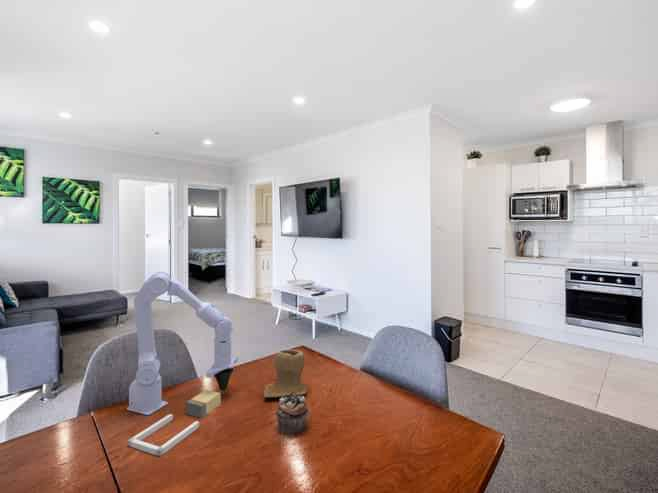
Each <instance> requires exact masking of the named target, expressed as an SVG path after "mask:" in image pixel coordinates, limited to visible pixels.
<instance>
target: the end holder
mask: <svg viewBox="0 0 658 493" xmlns="http://www.w3.org/2000/svg"><path fill="white" fill-rule="evenodd" d="M173 420H174V414H171V413H169V414H167V415H165V416H164V417H163V418H161V419H160V420H158V421H156V422H155V423H153V424H152V425H150V426H149V427H147V428H145V429H144V430H142V431H140V432H139V433H137V434H136V435H134V436H132V437H131V438H130V439H128V440H127V446H128V447H130V448H133V449H136V450H139V451H142V452H145V453H149V454H151V455H153V456H157V457H162V455H164V454H165V453H167V452H168V451H170V449H172V448H173V447H175V445H177V444H179V442H181V441H183V440H184V439H185V438H186V437H188V436H190V434H192V433H193V432H194V431H195V430H197V429H199V427H200V422H199V421H197V420H196V421H194V422H192V423H191V424H190V425H189V426H187V427H185V428H184V429H183V430H182V431H180V432H179V433H178V434H176V435H174V436H173V437H172V438H170V439H169V440H167V442H165V443H164V444H162V445H161V446H158V445H155V444H152V443H149V442H146V441H143V440H144V439H145V438H147V437H149V436H150V435H152V434H153V433H154V432H156V431H157V430H159V429H160V428H162V427H164V426H165V425H166V424H168V423H170V422H172V421H173Z"/></svg>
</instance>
